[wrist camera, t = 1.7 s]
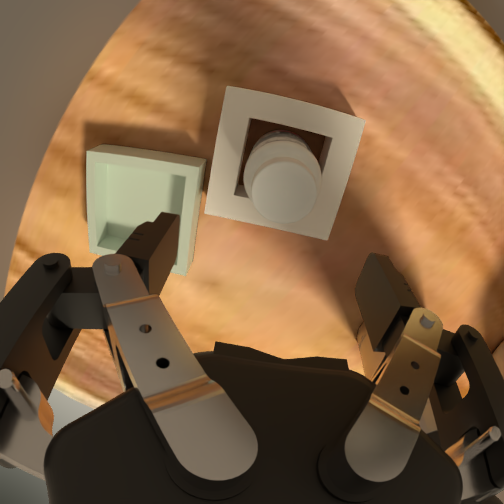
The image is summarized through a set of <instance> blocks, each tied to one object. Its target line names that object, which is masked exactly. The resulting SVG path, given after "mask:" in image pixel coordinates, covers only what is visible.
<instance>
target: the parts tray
mask: <svg viewBox="0 0 504 504" xmlns="http://www.w3.org/2000/svg"><path fill="white" fill-rule="evenodd" d="M206 163H207V159H203V158H198V157H192V156H186V155H180V154H174V153H168V152H161V151H154V150H147V149H140V148H133V147H125V146H116V145H108V144H101V145H99V146H97V147H94V148H92V149H90V150H87V158H86V195H87V220H88V236H89V248H90V252H91V253H94V254H98V255H102V256H104V255H108V254H115V253H116V252H117V251H118V249H119V248H120V247H121V246H122V244H123V243H124V242H125V241H126V240H127V239H128V237H129V236H130V235H131V233H133V231H134V230H135V229H136V227H137V226H138V225H140V224H142V223H144V222H146V221H150V222H154V220H155V219H156V218H157V217H158V215H159V214H160V213H161V212H167V213H172V214H178V215H180V226H179V239H178V251H177V257H176V261H175V263H174V265H173V268H172V270H171V273H175V274H180V275H184V276H186V275H187V273H188V270H189V268H190V266H191V264H192V261H193V256H194V248H195V240H196V232H197V224H198V217H199V210H200V203H201V196H202V189H203V182H204V176H205V169H206Z"/></svg>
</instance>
